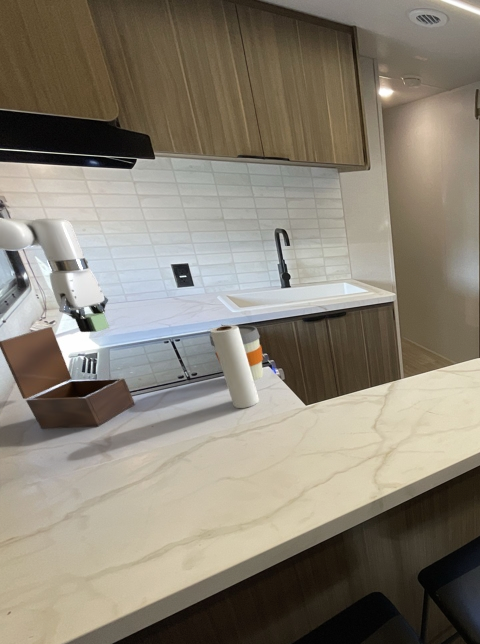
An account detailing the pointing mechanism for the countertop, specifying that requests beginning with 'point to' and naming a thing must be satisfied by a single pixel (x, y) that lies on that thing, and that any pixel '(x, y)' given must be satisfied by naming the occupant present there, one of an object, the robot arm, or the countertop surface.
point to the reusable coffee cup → (250, 349)
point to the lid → (35, 361)
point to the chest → (81, 403)
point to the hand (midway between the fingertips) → (94, 328)
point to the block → (97, 321)
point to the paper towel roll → (235, 365)
